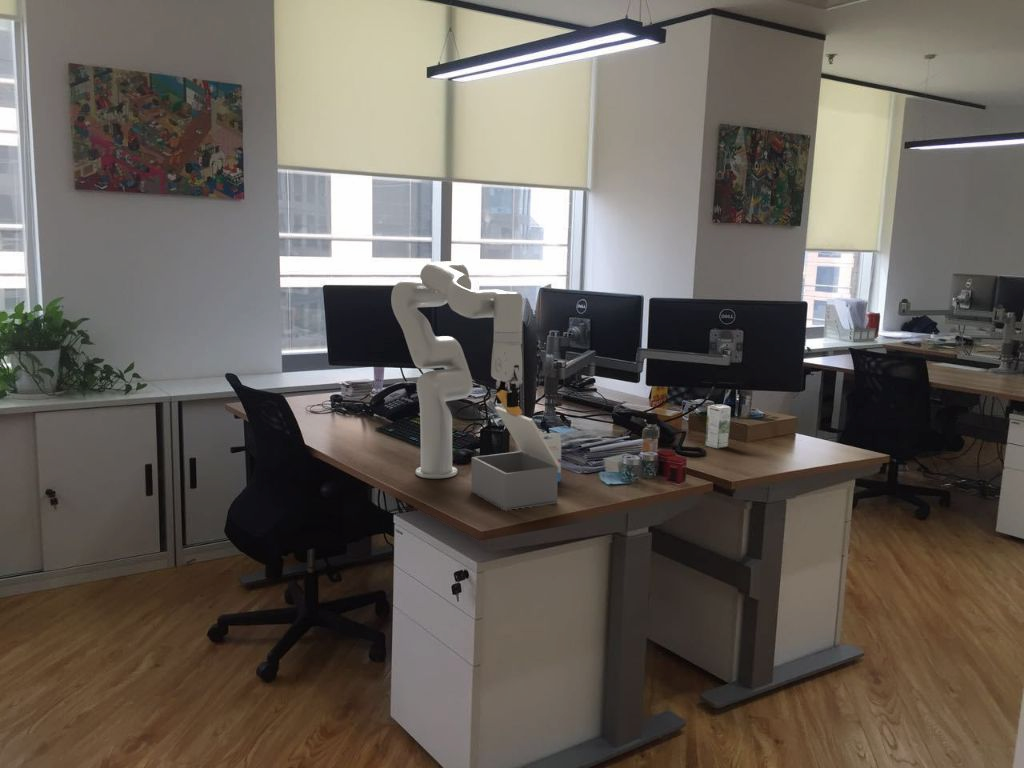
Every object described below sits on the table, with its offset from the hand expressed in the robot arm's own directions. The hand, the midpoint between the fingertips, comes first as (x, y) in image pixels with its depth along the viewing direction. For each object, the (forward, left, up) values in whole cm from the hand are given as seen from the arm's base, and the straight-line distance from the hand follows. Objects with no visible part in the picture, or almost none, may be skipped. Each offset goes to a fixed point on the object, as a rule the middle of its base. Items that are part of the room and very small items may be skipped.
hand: (507, 404), depth 230 cm
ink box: (-11, +19, -27) cm, 35 cm away
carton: (0, +2, -26) cm, 26 cm away
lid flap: (0, +4, -7) cm, 8 cm away
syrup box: (-21, +95, -27) cm, 101 cm away
